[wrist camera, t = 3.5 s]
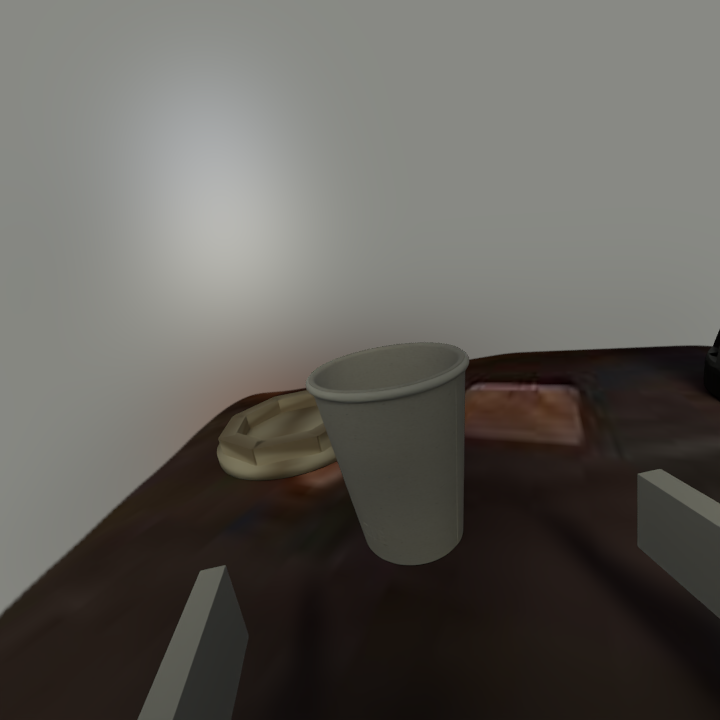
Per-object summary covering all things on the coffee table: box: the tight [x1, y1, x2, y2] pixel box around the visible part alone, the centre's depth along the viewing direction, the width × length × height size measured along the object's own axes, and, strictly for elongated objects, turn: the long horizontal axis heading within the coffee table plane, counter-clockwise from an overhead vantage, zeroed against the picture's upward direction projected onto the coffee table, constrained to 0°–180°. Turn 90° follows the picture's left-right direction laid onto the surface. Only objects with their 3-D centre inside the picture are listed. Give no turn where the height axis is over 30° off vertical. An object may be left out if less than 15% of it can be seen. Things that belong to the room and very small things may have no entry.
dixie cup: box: [306, 343, 469, 565], centre depth 20 cm, size 8×8×10 cm
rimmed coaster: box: [217, 390, 337, 480], centre depth 36 cm, size 15×15×2 cm
